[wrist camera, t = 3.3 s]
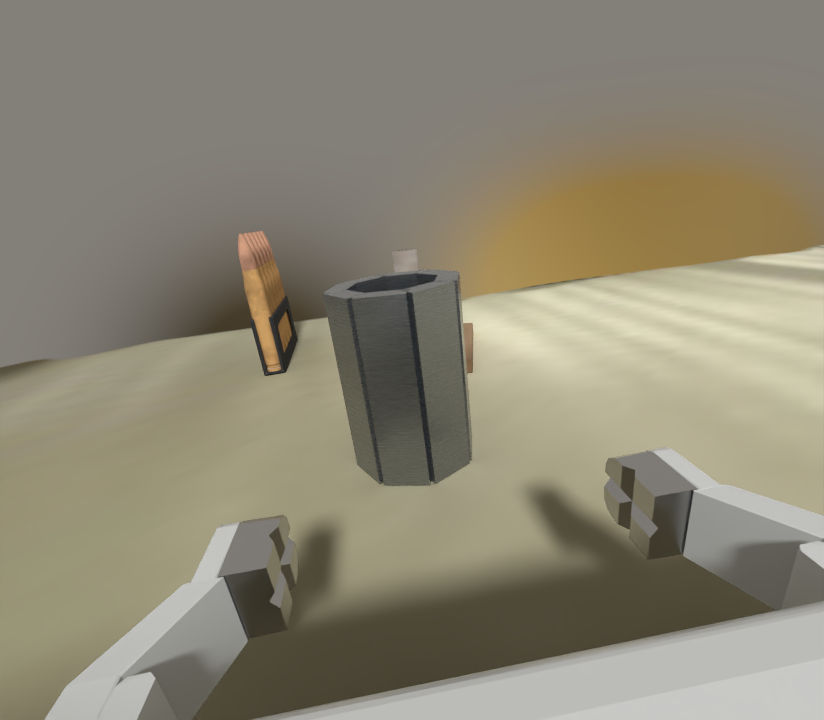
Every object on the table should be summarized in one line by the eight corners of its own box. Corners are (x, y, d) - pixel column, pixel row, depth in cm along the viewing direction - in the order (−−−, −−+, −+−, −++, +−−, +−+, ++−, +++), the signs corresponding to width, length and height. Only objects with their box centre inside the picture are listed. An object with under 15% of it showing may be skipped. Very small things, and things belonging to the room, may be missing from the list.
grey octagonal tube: (346, 485, 19) (306, 302, 16) (374, 421, 25) (349, 277, 21) (471, 484, 18) (455, 289, 15) (472, 418, 23) (460, 265, 20)
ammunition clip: (285, 373, 35) (249, 232, 31) (264, 376, 35) (225, 235, 30) (297, 339, 45) (271, 229, 41) (281, 342, 45) (253, 231, 40)
